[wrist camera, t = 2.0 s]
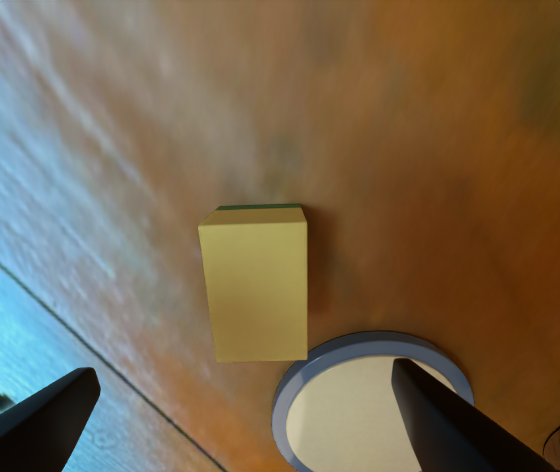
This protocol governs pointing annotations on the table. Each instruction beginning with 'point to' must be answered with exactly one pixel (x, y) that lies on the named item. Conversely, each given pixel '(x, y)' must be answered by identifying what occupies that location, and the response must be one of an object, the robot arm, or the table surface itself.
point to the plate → (354, 404)
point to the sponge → (257, 282)
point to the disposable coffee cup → (553, 450)
